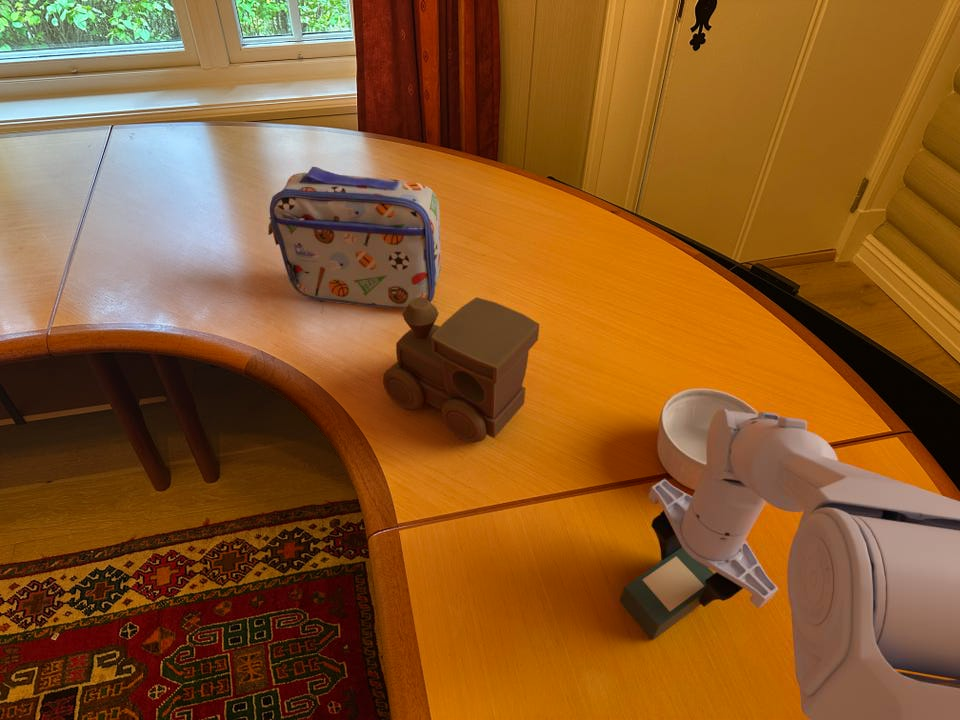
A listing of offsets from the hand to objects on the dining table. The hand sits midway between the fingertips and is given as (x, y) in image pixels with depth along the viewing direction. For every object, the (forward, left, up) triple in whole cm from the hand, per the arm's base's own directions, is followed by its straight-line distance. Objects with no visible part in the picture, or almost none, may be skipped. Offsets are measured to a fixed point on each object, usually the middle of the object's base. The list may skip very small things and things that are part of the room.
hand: (688, 578), depth 66 cm
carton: (0, +3, -1) cm, 3 cm away
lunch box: (+68, +7, -2) cm, 68 cm away
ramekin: (+11, -15, -2) cm, 18 cm away
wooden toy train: (+37, +7, -2) cm, 38 cm away
